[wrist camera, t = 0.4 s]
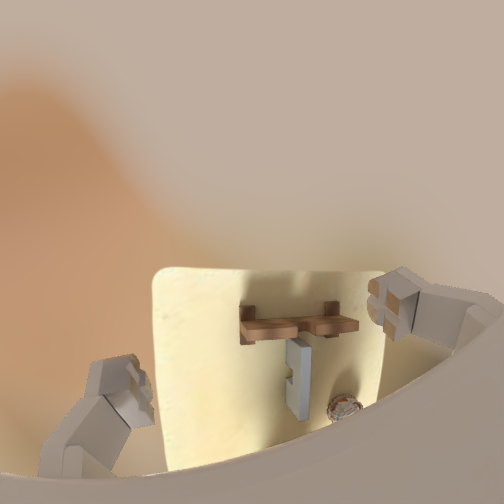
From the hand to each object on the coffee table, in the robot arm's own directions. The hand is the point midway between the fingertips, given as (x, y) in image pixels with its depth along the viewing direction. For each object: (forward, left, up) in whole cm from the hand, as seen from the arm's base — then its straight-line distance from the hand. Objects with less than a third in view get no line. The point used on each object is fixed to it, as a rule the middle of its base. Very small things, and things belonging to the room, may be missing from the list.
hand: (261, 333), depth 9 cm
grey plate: (-27, +3, -51) cm, 58 cm away
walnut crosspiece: (-19, -5, -51) cm, 55 cm away
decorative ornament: (-45, +2, -52) cm, 69 cm away
